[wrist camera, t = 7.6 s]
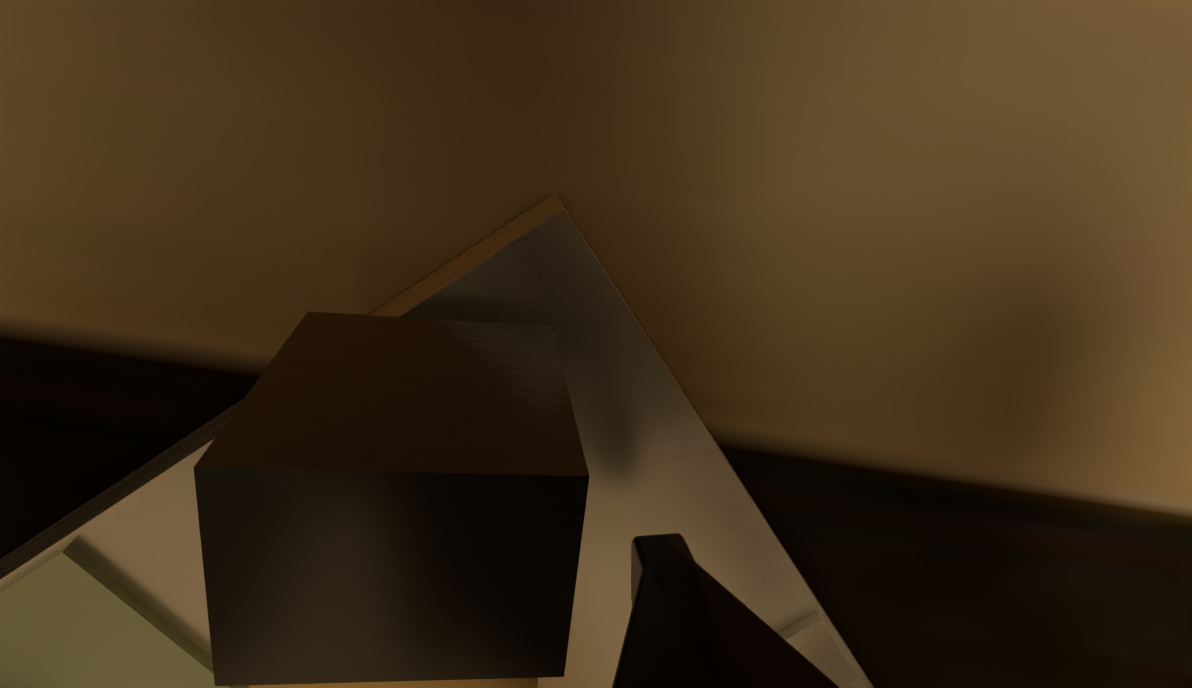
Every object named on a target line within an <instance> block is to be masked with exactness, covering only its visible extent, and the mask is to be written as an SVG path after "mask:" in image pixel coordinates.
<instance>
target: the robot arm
mask: <svg viewBox="0 0 1192 688" xmlns="http://www.w3.org/2000/svg"><path fill="white" fill-rule="evenodd" d="M631 601H632V609H631V613H630V617H629V621H628V625H627V629H626V633H625V637H624V641H623V645H622V649H621V653H620V657H619V661H618V665H617V669H616V673H615V677H614V681H613V685H612V688H840V687H838V686H837V685H836V684H835V683H834V682H833V681H832V680H830V679H829V678H828V677H827V676H826V675H825V674H824V673H822V672H821V671H820V670H819V669H818V668H817V667H816V666H814V665H813V664H812V663H811V662H810V661H809V660H808V659H806V658H805V657H804V656H803V655H802V654H801V653H800V652H798V651H797V650H796V649H795V648H794V647H793V646H792V645H790V644H789V643H788V642H787V641H786V640H785V639H784V638H782V637H781V636H780V635H779V634H778V633H777V632H776V631H774V630H773V629H772V628H771V627H770V626H769V625H768V624H766V623H765V622H764V621H763V620H762V619H761V618H759V617H758V616H757V615H756V614H755V613H754V612H753V611H751V610H750V609H749V608H748V607H747V606H746V605H745V604H743V603H742V602H741V601H740V600H739V599H738V598H737V597H735V596H734V595H733V594H732V593H731V592H730V591H729V590H727V589H726V588H725V587H724V586H723V585H722V584H721V583H719V582H718V581H717V580H716V579H715V578H714V577H713V576H711V575H710V574H709V573H708V572H707V571H706V570H705V569H703V568H702V567H701V566H700V565H699V564H698V563H697V562H696V561H695V559H694V557H693V555H692V553H691V551H690V549H689V547H688V545H687V543H686V541H685V539H684V537H683V536H682V535H681V534H679V533H671V534H657V535H644V536H636V537H634V538H633V540H632V544H631Z"/></svg>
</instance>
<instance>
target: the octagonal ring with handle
mask: <svg viewBox="0 0 1192 688" xmlns="http://www.w3.org/2000/svg"><path fill="white" fill-rule="evenodd" d="M589 477H590V476H589V472H588V468H587V464H586V460H585V456H584V452H583V448H582V444H581V440H580V436H579V432H578V428H577V424H576V420H575V416H574V412H573V408H572V404H571V400H570V396H569V392H568V388H567V384H566V380H565V376H564V372H563V368H562V364H561V360H560V356H559V352H558V348H557V344H556V340H555V336H554V332H553V328H552V326H541V325H524V324H508V323H491V322H474V321H457V320H441V319H424V318H407V317H390V316H374V315H357V314H340V313H323V312H307V314H306V315H305V316H304V318H303V319H302V320H301V322H300V323H299V324H298V326H297V327H296V328H295V330H294V331H293V333H292V334H291V335H290V337H289V338H288V339H287V341H286V342H285V343H284V345H283V346H282V348H281V349H280V350H279V352H278V353H277V354H276V356H275V357H274V358H273V360H272V361H271V363H270V364H269V365H268V367H267V368H266V369H265V371H264V372H263V373H262V375H261V376H260V377H259V379H258V380H257V382H256V383H255V384H254V386H253V387H252V388H251V390H250V391H249V392H248V394H247V395H246V397H245V398H244V399H243V401H242V402H241V403H240V405H239V406H238V407H237V409H236V410H235V412H234V413H233V414H232V416H231V417H230V418H229V420H228V421H227V422H226V424H225V425H224V426H223V428H222V429H221V431H220V432H219V433H218V435H217V436H216V437H215V439H214V440H213V441H212V443H211V444H210V446H209V447H208V448H207V450H206V451H205V452H204V454H203V455H202V456H201V458H200V459H199V461H198V462H197V463H196V465H195V466H194V478H195V488H196V498H197V508H198V518H199V529H200V539H201V549H202V559H203V570H204V580H205V590H206V600H207V611H208V621H209V631H210V641H211V652H212V662H213V672H214V682H215V686H244V685H249V688H537V685H538V678H545V677H564V674H565V666H566V658H567V650H568V642H569V634H570V626H571V619H572V611H573V603H574V595H575V587H576V579H577V571H578V563H579V556H580V548H581V540H582V532H583V524H584V516H585V508H586V500H587V493H588V485H589Z"/></svg>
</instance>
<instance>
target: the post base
mask: <svg viewBox="0 0 1192 688" xmlns="http://www.w3.org/2000/svg"><path fill="white" fill-rule="evenodd" d="M370 315H374V316H390V317H407V318H424V319H441V320H457V321H474V322H491V323H508V324H524V325H541V326H552V328H553V332H554V336H555V340H556V344H557V348H558V352H559V356H560V360H561V364H562V368H563V372H564V376H565V380H566V384H567V388H568V392H569V396H570V400H571V404H572V408H573V412H574V416H575V420H576V424H577V428H578V432H579V436H580V440H581V444H582V448H583V452H584V456H585V460H586V464H587V468H588V472H589V476H590V477H589V485H588V493H587V500H586V508H585V516H584V524H583V532H582V540H581V548H580V556H579V563H578V571H577V579H576V587H575V595H574V603H573V611H572V619H571V626H570V634H569V642H568V650H567V658H566V666H565V674H564V677H545V678H538V685H537V688H612V685H613V681H614V677H615V673H616V669H617V665H618V661H619V657H620V653H621V649H622V645H623V641H624V637H625V633H626V629H627V625H628V621H629V617H630V613H631V609H632V601H631V544H632V540H633V538H634V537H636V536H644V535H657V534H671V533H679V534H681V535H682V536H683V537H684V539H685V541H686V543H687V545H688V547H689V549H690V551H691V553H692V555H693V557H694V559H695V561H696V562H697V563H698V564H699V565H700V566H701V567H702V568H703V569H705V570H706V571H707V572H708V573H709V574H710V575H711V576H713V577H714V578H715V579H716V580H717V581H718V582H719V583H721V584H722V585H723V586H724V587H725V588H726V589H727V590H729V591H730V592H731V593H732V594H733V595H734V596H735V597H737V598H738V599H739V600H740V601H741V602H742V603H743V604H745V605H746V606H747V607H748V608H749V609H750V610H751V611H753V612H754V613H755V614H756V615H757V616H758V617H759V618H761V619H762V620H763V621H764V622H765V623H766V624H768V625H769V626H770V627H771V628H772V629H773V630H774V631H776V632H777V633H778V634H779V635H780V636H781V637H782V638H784V639H785V640H786V641H787V642H788V643H789V644H790V645H792V646H793V647H794V648H795V649H796V650H797V651H798V652H800V653H801V654H802V655H803V656H804V657H805V658H806V659H808V660H809V661H810V662H811V663H812V664H813V665H814V666H816V667H817V668H818V669H819V670H820V671H821V672H822V673H824V674H825V675H826V676H827V677H828V678H829V679H830V680H832V681H833V682H834V683H835V684H836V685H837V686H838V687H840V688H874V686H873V685H872V683H871V682H870V680H869V679H868V677H867V675H866V674H865V672H864V671H863V669H862V668H861V666H860V665H859V663H858V661H857V660H856V658H855V657H854V655H853V654H852V652H851V651H850V649H849V648H848V646H847V644H846V643H845V641H844V640H843V638H842V637H841V635H840V634H839V632H838V630H837V629H836V627H835V626H834V624H833V623H832V621H831V620H830V618H829V617H828V615H827V613H826V612H825V610H824V609H823V607H822V606H821V604H820V603H819V601H818V599H817V598H816V596H815V595H814V593H813V592H812V590H811V589H810V587H809V585H808V584H807V582H806V581H805V579H804V578H803V576H802V575H801V573H800V572H799V570H798V568H797V567H796V565H795V564H794V562H793V561H792V559H791V558H790V556H789V554H788V553H787V551H786V550H785V548H784V547H783V545H782V544H781V542H780V540H779V539H778V537H777V536H776V534H775V533H774V531H773V530H772V528H771V527H770V525H769V523H768V522H767V520H766V519H765V517H764V516H763V514H762V513H761V511H760V509H759V508H758V506H757V505H756V503H755V502H754V500H753V499H752V497H751V496H750V494H749V492H748V491H747V489H746V488H745V486H744V485H743V483H742V482H741V480H740V478H739V477H738V475H737V474H736V472H735V471H734V469H733V468H732V466H731V464H730V463H729V461H728V460H727V458H726V457H725V455H724V454H723V452H722V451H721V449H720V447H719V446H718V444H717V443H716V441H715V440H714V438H713V437H712V435H711V433H710V432H709V430H708V429H707V427H706V426H705V424H704V423H703V421H702V419H701V418H700V416H699V415H698V413H697V412H696V410H695V409H694V407H693V406H692V404H691V402H690V401H689V399H688V398H687V396H686V395H685V393H684V392H683V390H682V388H681V387H680V385H679V384H678V382H677V381H676V379H675V378H674V376H673V375H672V373H671V371H670V370H669V368H668V367H667V365H666V364H665V362H664V361H663V359H662V357H661V356H660V354H659V353H658V351H657V350H656V348H655V347H654V345H653V343H652V342H651V340H650V339H649V337H648V336H647V334H646V333H645V331H644V330H643V328H642V326H641V325H640V323H639V322H638V320H637V319H636V317H635V316H634V314H633V312H632V311H631V309H630V308H629V306H628V305H627V303H626V302H625V300H624V298H623V297H622V295H621V294H620V292H619V291H618V289H617V288H616V286H615V285H614V283H613V281H612V280H611V278H610V277H609V275H608V274H607V272H606V271H605V269H604V267H603V266H602V264H601V263H600V261H599V260H598V258H597V257H596V255H595V254H594V252H593V250H592V249H591V247H590V246H589V244H588V243H587V241H586V240H585V238H584V236H583V235H582V233H581V232H580V230H579V229H578V227H577V226H576V224H575V222H574V221H573V219H572V218H571V216H570V215H569V213H568V212H567V210H566V209H565V207H564V205H563V204H562V202H561V201H560V199H559V198H558V196H557V195H556V193H553V194H552V195H550V196H549V197H547V198H546V199H544V200H543V201H541V202H540V203H538V204H537V205H535V206H534V207H532V208H531V209H529V210H528V211H526V212H525V213H523V214H522V215H520V216H519V217H517V218H516V219H514V220H513V221H511V222H510V223H508V224H507V225H505V226H504V227H502V228H501V229H499V230H498V231H496V232H495V233H493V234H491V235H490V236H488V237H487V238H485V239H484V240H482V241H481V242H479V243H478V244H476V245H475V246H473V247H472V248H470V249H469V250H467V251H466V252H464V253H463V254H461V255H460V256H458V257H457V258H455V259H454V260H452V261H451V262H449V263H448V264H446V265H445V266H443V267H442V268H440V269H439V270H437V271H436V272H434V273H432V274H431V275H429V276H428V277H426V278H425V279H423V280H422V281H420V282H419V283H417V284H416V285H414V286H413V287H411V288H410V289H408V290H407V291H405V292H404V293H402V294H401V295H399V296H398V297H396V298H395V299H393V300H392V301H390V302H389V303H387V304H386V305H384V306H383V307H381V308H380V309H378V310H377V311H375V312H374V313H372V314H370ZM243 399H244V398H243ZM243 399H242V400H240V401H239V402H237V403H236V404H234V405H233V406H231V407H230V408H228V409H227V410H225V411H224V412H222V413H221V414H219V415H218V416H216V417H215V418H213V419H212V420H210V421H209V422H207V423H206V424H204V425H203V426H201V427H200V428H198V429H197V430H195V431H194V432H192V433H190V434H189V435H187V436H186V437H184V438H183V439H181V440H180V441H178V442H177V443H175V444H174V445H172V446H171V447H169V448H168V449H166V450H165V451H163V452H162V453H160V454H159V455H157V456H156V457H154V458H153V459H151V460H150V461H148V462H147V463H145V464H144V465H142V466H141V467H139V468H138V469H136V470H135V471H133V472H131V473H130V474H128V475H127V476H125V477H124V478H122V479H121V480H119V481H118V482H116V483H115V484H113V485H112V486H110V487H109V488H107V489H106V490H104V491H103V492H101V493H100V494H98V495H97V496H95V497H94V498H92V499H91V500H89V501H88V502H86V503H85V504H83V505H82V506H80V507H79V508H77V509H76V510H74V511H73V512H71V513H69V514H68V515H66V516H65V517H63V518H62V519H60V520H59V521H57V522H56V523H54V524H53V525H51V526H50V527H48V528H47V529H45V530H44V531H42V532H41V533H39V534H38V535H36V536H35V537H33V538H32V539H30V540H29V541H27V542H26V543H24V544H23V545H21V546H20V547H18V548H17V549H15V550H14V551H12V552H10V553H9V554H7V555H6V556H4V557H3V558H1V559H0V688H249V685H244V686H215V682H214V672H213V662H212V652H211V641H210V631H209V621H208V611H207V600H206V590H205V580H204V570H203V559H202V549H201V539H200V529H199V518H198V508H197V498H196V488H195V478H194V466H195V465H196V463H197V462H198V461H199V459H200V458H201V456H202V455H203V454H204V452H205V451H206V450H207V448H208V447H209V446H210V444H211V443H212V441H213V440H214V439H215V437H216V436H217V435H218V433H219V432H220V431H221V429H222V428H223V426H224V425H225V424H226V422H227V421H228V420H229V418H230V417H231V416H232V414H233V413H234V412H235V410H236V409H237V407H238V406H239V405H240V403H241V402H242V401H243Z"/></svg>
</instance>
